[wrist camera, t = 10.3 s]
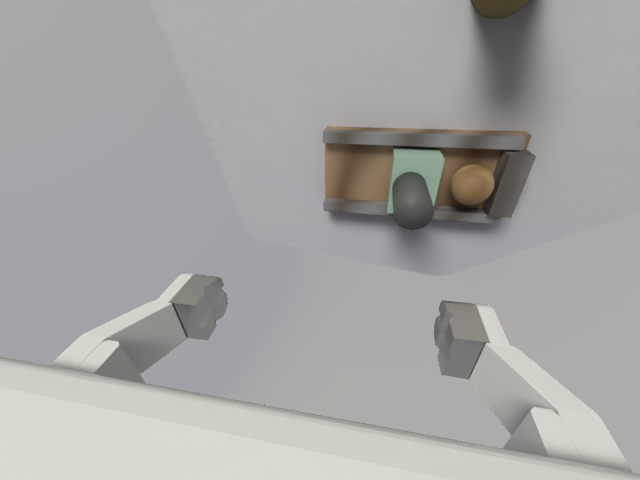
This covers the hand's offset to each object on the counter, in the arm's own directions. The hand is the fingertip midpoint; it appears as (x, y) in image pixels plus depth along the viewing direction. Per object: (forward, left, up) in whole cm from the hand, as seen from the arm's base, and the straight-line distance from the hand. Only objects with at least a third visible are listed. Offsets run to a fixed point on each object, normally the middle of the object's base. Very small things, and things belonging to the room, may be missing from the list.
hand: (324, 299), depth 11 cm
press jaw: (-6, +5, -27) cm, 28 cm away
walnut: (-12, +5, -25) cm, 28 cm away
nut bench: (-6, +5, -29) cm, 30 cm away
